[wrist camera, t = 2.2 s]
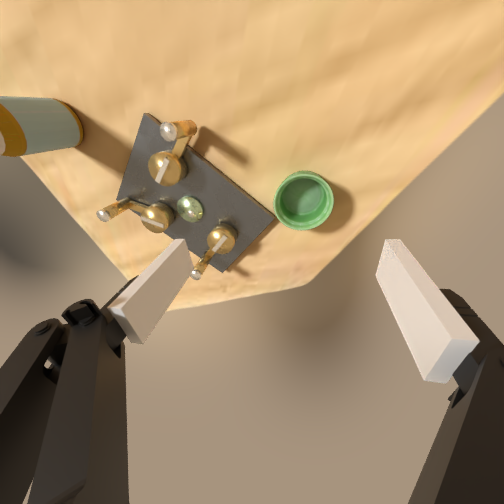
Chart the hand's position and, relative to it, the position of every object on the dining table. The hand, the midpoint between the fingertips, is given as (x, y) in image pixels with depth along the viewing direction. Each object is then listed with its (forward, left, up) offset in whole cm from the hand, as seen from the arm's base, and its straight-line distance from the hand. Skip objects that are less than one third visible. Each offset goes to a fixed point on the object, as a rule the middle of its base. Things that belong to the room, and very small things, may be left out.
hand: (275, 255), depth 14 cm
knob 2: (-16, -9, -22) cm, 29 cm away
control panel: (-10, -17, -24) cm, 30 cm away
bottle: (-35, -18, -24) cm, 46 cm away
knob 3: (-2, -19, -22) cm, 29 cm away
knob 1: (-16, -22, -22) cm, 36 cm away
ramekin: (+4, -1, -24) cm, 24 cm away
